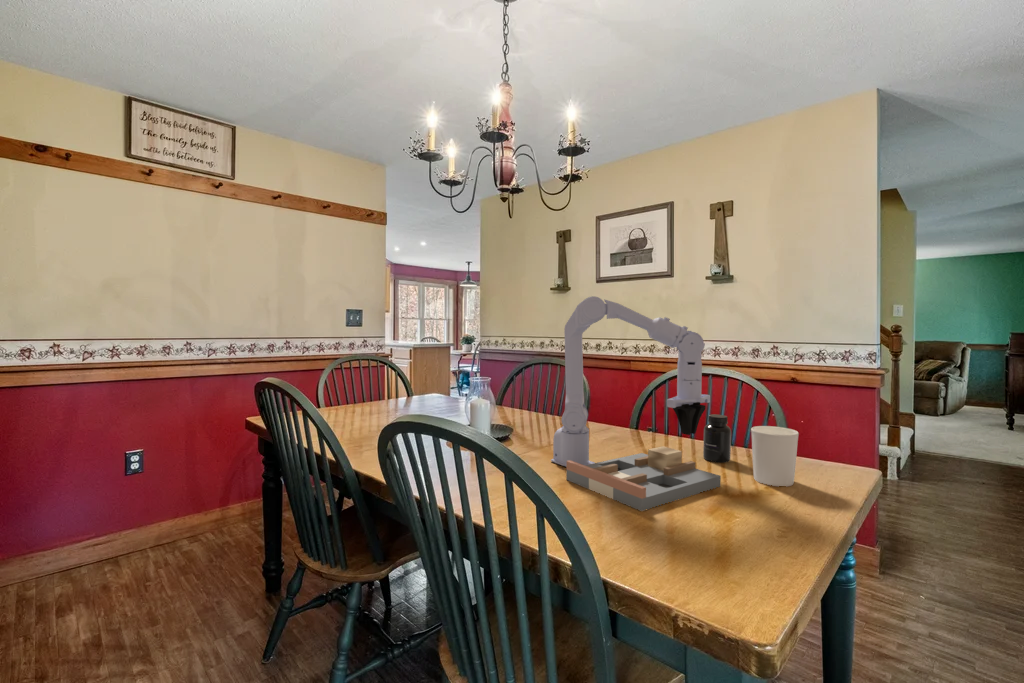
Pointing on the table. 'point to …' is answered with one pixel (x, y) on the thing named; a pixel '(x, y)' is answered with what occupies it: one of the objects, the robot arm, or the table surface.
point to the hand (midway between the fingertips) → (688, 433)
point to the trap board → (641, 480)
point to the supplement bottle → (717, 439)
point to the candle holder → (774, 455)
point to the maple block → (663, 457)
